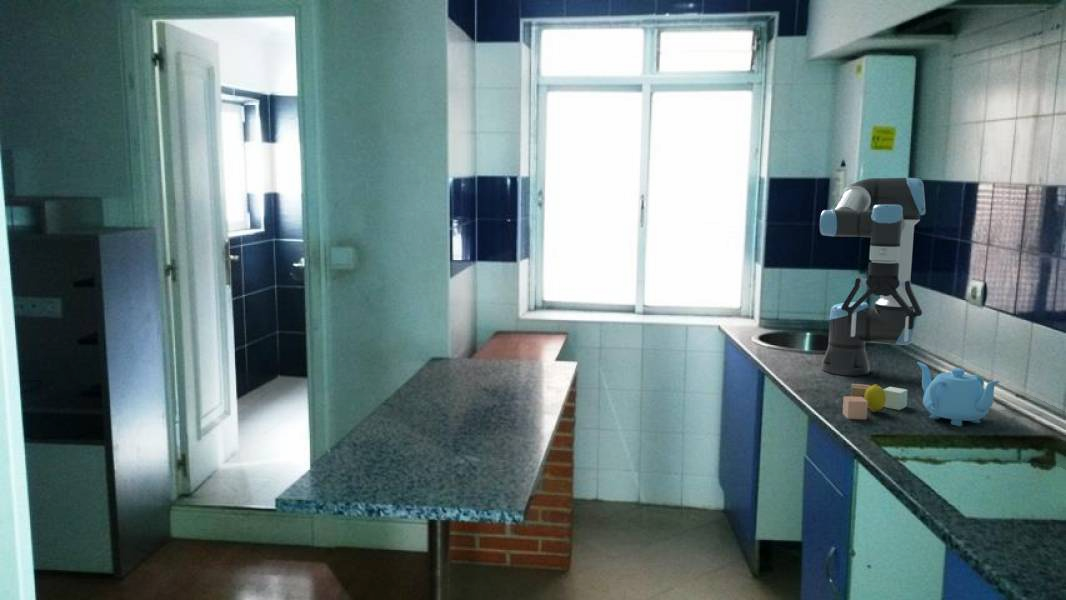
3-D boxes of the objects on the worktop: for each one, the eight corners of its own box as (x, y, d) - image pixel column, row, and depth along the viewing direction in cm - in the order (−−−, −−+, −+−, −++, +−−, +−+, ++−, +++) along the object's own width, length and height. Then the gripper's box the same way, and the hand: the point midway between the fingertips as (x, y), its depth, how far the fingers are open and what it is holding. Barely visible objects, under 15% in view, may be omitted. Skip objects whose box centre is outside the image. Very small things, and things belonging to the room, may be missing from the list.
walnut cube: (850, 400, 235) (851, 383, 234) (868, 401, 233) (870, 385, 232) (850, 404, 230) (851, 387, 229) (869, 406, 228) (870, 389, 227)
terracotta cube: (842, 413, 221) (843, 396, 220) (861, 414, 220) (862, 396, 220) (847, 419, 216) (848, 401, 215) (866, 419, 215) (867, 401, 215)
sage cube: (888, 403, 231) (889, 386, 230) (906, 406, 228) (907, 389, 227) (881, 406, 228) (882, 389, 227) (899, 410, 224) (900, 393, 223)
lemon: (886, 415, 219) (888, 387, 218) (865, 414, 220) (867, 386, 219) (882, 409, 224) (884, 382, 223) (861, 408, 225) (863, 381, 224)
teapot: (995, 433, 204) (1000, 379, 202) (911, 422, 212) (915, 371, 210) (992, 416, 218) (996, 366, 216) (913, 407, 227) (917, 359, 225)
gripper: (833, 260, 219) (829, 336, 222) (934, 265, 206) (928, 345, 209) (838, 258, 225) (834, 331, 229) (936, 262, 213) (930, 340, 216)
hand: (879, 338), depth 219 cm, fingers open, 13 cm apart
